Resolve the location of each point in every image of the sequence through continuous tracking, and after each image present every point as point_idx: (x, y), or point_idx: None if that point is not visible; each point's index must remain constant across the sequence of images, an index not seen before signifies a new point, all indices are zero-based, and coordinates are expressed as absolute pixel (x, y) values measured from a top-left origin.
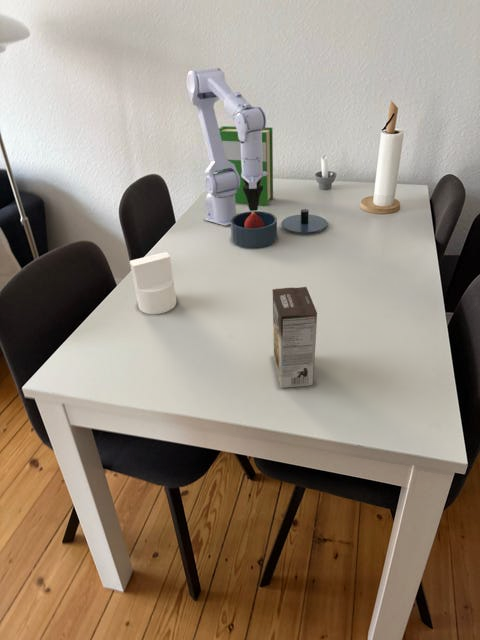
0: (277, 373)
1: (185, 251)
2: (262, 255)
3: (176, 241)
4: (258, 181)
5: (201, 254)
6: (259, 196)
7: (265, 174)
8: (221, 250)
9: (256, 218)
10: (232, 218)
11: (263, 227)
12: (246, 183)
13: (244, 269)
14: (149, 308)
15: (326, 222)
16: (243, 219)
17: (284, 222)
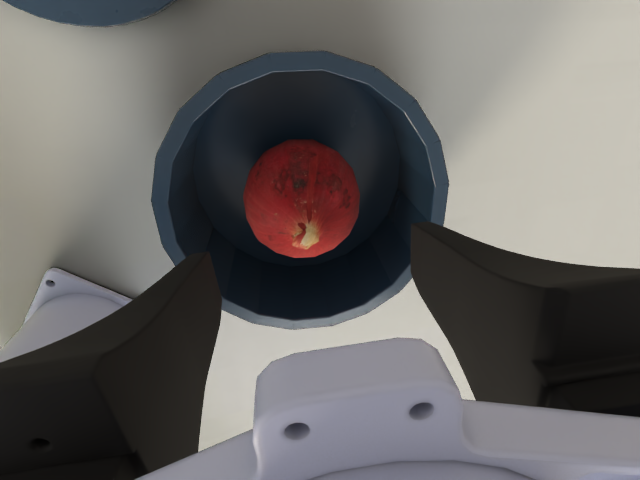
0: None
1: None
2: (482, 118)
3: None
4: (143, 354)
5: (434, 344)
6: (534, 260)
7: (456, 385)
8: (410, 290)
9: (334, 201)
10: (287, 326)
11: (433, 141)
12: (193, 446)
13: (589, 182)
14: None
15: None
16: (214, 266)
17: (80, 2)
